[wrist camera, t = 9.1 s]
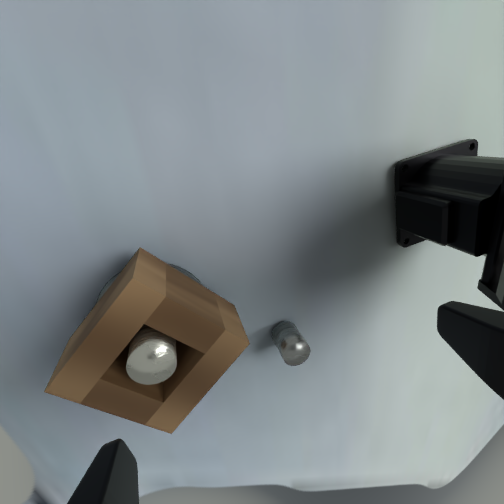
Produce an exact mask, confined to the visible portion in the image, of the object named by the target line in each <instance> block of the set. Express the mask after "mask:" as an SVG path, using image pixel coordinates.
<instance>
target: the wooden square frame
mask: <svg viewBox="0 0 504 504" xmlns="http://www.w3.org/2000/svg"><path fill="white" fill-rule="evenodd" d="M143 324H146V325H148V326H150V327H152V328H154V329H156V330H158V331H160V332H162V333H164V334H166V335H168V336H170V337H172V338H174V339H176V354H177V366H176V369H175V371H174V373H173V374H172V375H171V376H170V377H169V378H168V379H166V380H165V381H163V382H160V383H157V384H152V385H146V384H140V383H138V382H135V381H134V380H132V379H131V378H130V377H129V375H128V373H127V370H126V364H127V358H128V353H129V347H130V341H131V339H132V338H133V337H134V336H135V334H136V333H137V332H138V331H139V329H140V328H141V327H142V326H143ZM249 344H250V343H249V340H248V338H247V335H246V333H245V331H244V328H243V326H242V323H241V321H240V318H239V316H238V313H237V311H236V308H235V306H234V305H233V304H231V303H230V302H228V301H227V300H225V299H223V298H222V297H220V296H218V295H217V294H215V293H214V292H212V291H210V290H209V289H207V288H205V287H204V286H202V285H201V284H199V283H197V282H196V281H194V280H192V279H191V278H189V277H188V276H186V275H184V274H183V273H181V272H179V271H178V270H176V269H175V268H173V267H171V266H170V265H168V264H166V263H165V262H163V261H162V260H160V259H158V258H157V257H155V256H153V255H152V254H150V253H149V252H147V251H145V250H144V249H142V248H139V249H138V251H137V252H136V253H135V254H134V256H133V257H132V258H131V260H130V261H129V262H128V264H127V265H126V266H125V267H124V269H123V270H122V271H121V273H120V274H119V275H118V277H117V278H116V279H115V280H114V282H113V283H112V284H111V286H110V287H109V288H108V290H107V291H106V292H105V293H104V295H103V296H102V297H101V299H100V300H99V301H98V303H97V304H96V305H95V306H94V308H93V309H92V310H91V312H90V313H89V314H88V315H87V317H86V318H85V319H84V321H83V322H82V323H81V325H80V326H79V327H78V328H77V330H76V331H75V332H74V334H73V335H72V336H71V338H70V339H69V341H68V343H67V345H66V347H65V349H64V351H63V353H62V356H61V358H60V360H59V362H58V364H57V366H56V368H55V370H54V372H53V374H52V376H51V379H50V381H49V383H48V385H47V387H46V389H45V391H44V392H46V393H49V394H52V395H55V396H58V397H61V398H64V399H67V400H70V401H73V402H76V403H79V404H82V405H85V406H88V407H91V408H94V409H97V410H100V411H104V412H107V413H110V414H113V415H116V416H119V417H122V418H125V419H128V420H131V421H134V422H137V423H140V424H143V425H146V426H149V427H152V428H155V429H158V430H161V431H164V432H167V433H170V434H172V432H173V431H174V430H175V429H176V428H177V427H178V426H179V424H180V423H181V422H182V421H183V420H184V419H185V417H186V416H187V415H188V414H189V413H190V412H191V411H192V409H193V408H194V407H195V406H196V405H197V404H198V402H199V401H200V400H201V399H202V398H203V397H204V396H205V394H206V393H207V392H208V391H209V390H210V389H211V387H212V386H213V385H214V384H215V383H216V382H217V381H218V379H219V378H220V377H221V376H222V375H223V374H224V372H225V371H226V370H227V369H228V368H229V367H230V366H231V364H232V363H233V362H234V361H235V360H236V359H237V357H238V356H239V355H240V354H241V353H242V352H243V351H244V349H245V348H246V347H247V346H248V345H249Z"/></svg>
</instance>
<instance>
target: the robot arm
mask: <svg viewBox="0 0 504 504" xmlns="http://www.w3.org/2000/svg"><path fill="white" fill-rule="evenodd" d="M469 146H470V147H469ZM477 151H478V142H477V140H475V139H467V140H464V141H461V142H457V143H454V144H451V145H448V146H445V147H442V148H438V149H435V150H432V151H429V152H426V153H423V154H419V155H416V156H413V157H410V158H407V159H404V160H401V161H399V162H398V163H397V164H396V166H395V196H396V226H397V243H398V245H400V246H402V247H408V246H411V245H414V244H416V243H419V242H422V241H424V240H429V241H432V242H434V243H437V244H439V245H442V246H446V245H447V246H450V247H452V248H455V249H457V250H460V251H463V252H465V253H468V254H470V255H473V256H475V257H478V256H481V255H484V256H486V259H485V263H484V268H483V273H482V277H481V279H480V280H479V283H478V287H477V288H478V289H479V290H480V291H481V292H482V293H484V294H485V295H486V296H487V297H488V298H490V299H491V300H492V301H493V302H494V303H496V304H497V305H498V306H499V307H500V308H502V309H503V310H504V158H499V157H483V156H477ZM403 165H404V169H403V171H402V167H403ZM404 240H405V241H404ZM437 330H438V332H439V334H440V336H441V337H442V338H443V339H444V340H445V341H446V342H447V343H448V344H449V345H450V346H451V348H452V349H453V350H454V351H455V352H456V353H457V354H458V355H459V356H460V357H461V358H462V359H463V360H464V361H465V362H466V364H467V365H468V366H469V367H470V368H471V369H472V370H473V371H474V372H475V373H476V374H477V375H478V376H479V377H480V378H481V379H482V380H483V381H484V382H485V383H486V384H487V385H488V386H489V387H490V388H491V389H492V390H493V391H494V392H496V393H497V394H498V395H499V396H500V397H501V398H502V399H503V400H504V312H502V311H497V310H493V309H488V308H483V307H479V306H474V305H470V304H465V303H461V302H456V301H450V302H448V303H445V304H443V305H440V306H439V308H438V313H437ZM67 504H139V491H138V469H137V462H136V459H135V457H134V455H133V454H132V453H131V451H130V450H129V448H128V447H127V445H126V444H125V442H124V441H123V440H122V439H116V440H114V441H112V442H109V443H107V444H105V445H103V446H102V447H101V449H100V450H99V452H98V453H97V455H96V457H95V458H94V460H93V462H92V463H91V465H90V467H89V468H88V470H87V472H86V473H85V475H84V477H83V478H82V480H81V481H80V483H79V485H78V486H77V488H76V490H75V491H74V493H73V495H72V496H71V498H70V500H69V501H68V503H67Z"/></svg>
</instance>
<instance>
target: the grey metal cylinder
mask: <svg viewBox="0 0 504 504" xmlns="http://www.w3.org/2000/svg"><path fill="white" fill-rule="evenodd" d="M272 339H273V340H274V342H275V344H276V346H277V348H278V350H279V352H280V354H281V356H282V357H283V359H284V361H285V363H286V364H288V365H290V366H296V365H300V364H302V363H303V362H304V361H306V360H307V358H308V357H309V355H310V347H309V345H308V344H307V342H306V341H305V340H304V338H303V337H302V335H301V334H300V332H299V331H298V329H297V328H296V326H295V325H294V324H293V323H291V322H288V321H286V322H281V323H279V324H278V325H277V326H276V327H275V328H274V329H273V331H272Z"/></svg>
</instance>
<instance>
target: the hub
mask: <svg viewBox="0 0 504 504" xmlns="http://www.w3.org/2000/svg"><path fill="white" fill-rule="evenodd" d="M166 264H167V263H166ZM168 265H170V266H171V267H173V268H175V269H176V270H178V271H179V272H181V273H183V274H184V275H186V276H188V277H189V278H191V279H192V280H194V281H196V282H197V283H199V284H201V283H200V281H199V280H198V279H197V278H196V277H195V276H194V275H192V274H191V273H190V272H188V271H186V270H185V269H182V268H180V267H178V266H175V265H171V264H168ZM120 273H121V272H120ZM120 273H118V274H117V275H116V276H114V277H113V278H112V279H111V280H110V281H109V282H108V283H107V284H106V285H105V287H104V288H103V290H102V291H101V293H100V295H99V297H98V300H97V302H96V304H97V303H98V301H99V300H100V299H101V297H102V296H103V295H104V293H105V292H106V291H107V290H108V288H109V287H110V286H111V284H112V283H113V282H114V280H115V279H116V278H117V277H118V275H119V274H120ZM201 285H202V284H201ZM202 286H203V285H202ZM176 366H177V354H176V339H174V338H172V337H170V336H168V335H166V334H164V333H162V332H160V331H158V330H156V329H154V328H152V327H150V326H148V325H146V324H143V326H142V327H141V328H140V329H139V331H138V332H137V333H136V334H135V336H134V337H133V338H132V339H131V341H130V347H129V353H128V358H127V364H126V370H127V373H128V375H129V377H130V378H131V379H132V380H134V381H135V382H138V383H140V384H146V385H152V384H157V383H160V382H163V381H165V380H166V379H168V378H169V377H170V376H171V375H172V374H173V373H174V371H175V369H176Z"/></svg>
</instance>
